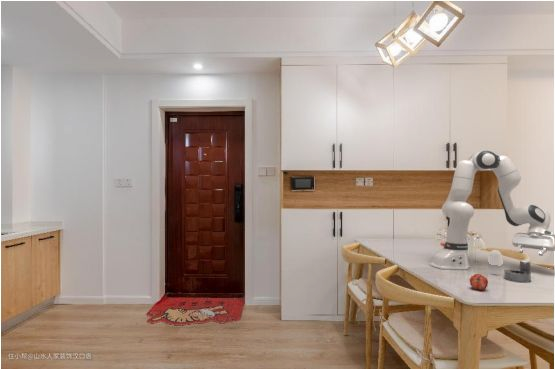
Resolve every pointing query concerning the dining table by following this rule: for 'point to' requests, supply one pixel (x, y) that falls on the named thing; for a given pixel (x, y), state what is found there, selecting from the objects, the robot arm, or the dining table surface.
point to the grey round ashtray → (517, 275)
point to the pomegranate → (478, 282)
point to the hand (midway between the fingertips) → (530, 253)
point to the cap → (525, 266)
